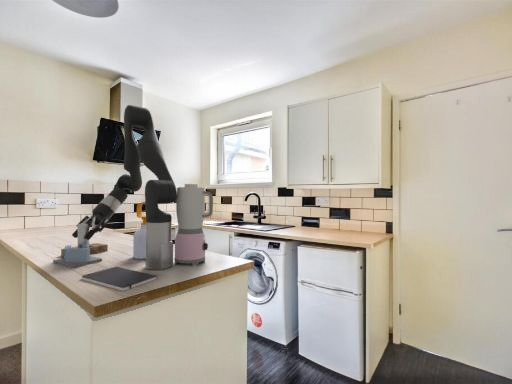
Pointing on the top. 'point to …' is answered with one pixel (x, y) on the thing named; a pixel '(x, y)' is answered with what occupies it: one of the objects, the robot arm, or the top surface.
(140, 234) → the soap bottle
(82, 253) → the v block
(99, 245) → the beam
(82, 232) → the axle
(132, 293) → the top surface
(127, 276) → the notebook
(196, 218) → the blender
